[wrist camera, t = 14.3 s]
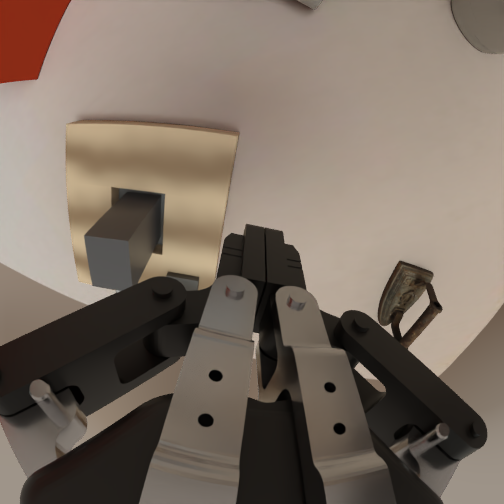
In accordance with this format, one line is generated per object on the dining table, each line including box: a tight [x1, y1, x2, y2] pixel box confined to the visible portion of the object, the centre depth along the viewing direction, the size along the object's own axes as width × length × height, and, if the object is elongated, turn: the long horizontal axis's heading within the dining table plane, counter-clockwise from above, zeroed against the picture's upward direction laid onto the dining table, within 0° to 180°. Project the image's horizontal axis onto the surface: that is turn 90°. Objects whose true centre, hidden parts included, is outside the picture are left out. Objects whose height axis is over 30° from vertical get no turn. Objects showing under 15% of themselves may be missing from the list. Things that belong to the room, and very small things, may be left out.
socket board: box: [66, 120, 239, 291], centre depth 29 cm, size 20×18×4 cm
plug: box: [84, 192, 161, 293], centre depth 26 cm, size 8×4×10 cm, turn 171°
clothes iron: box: [378, 261, 443, 350], centre depth 34 cm, size 7×11×10 cm, turn 164°
